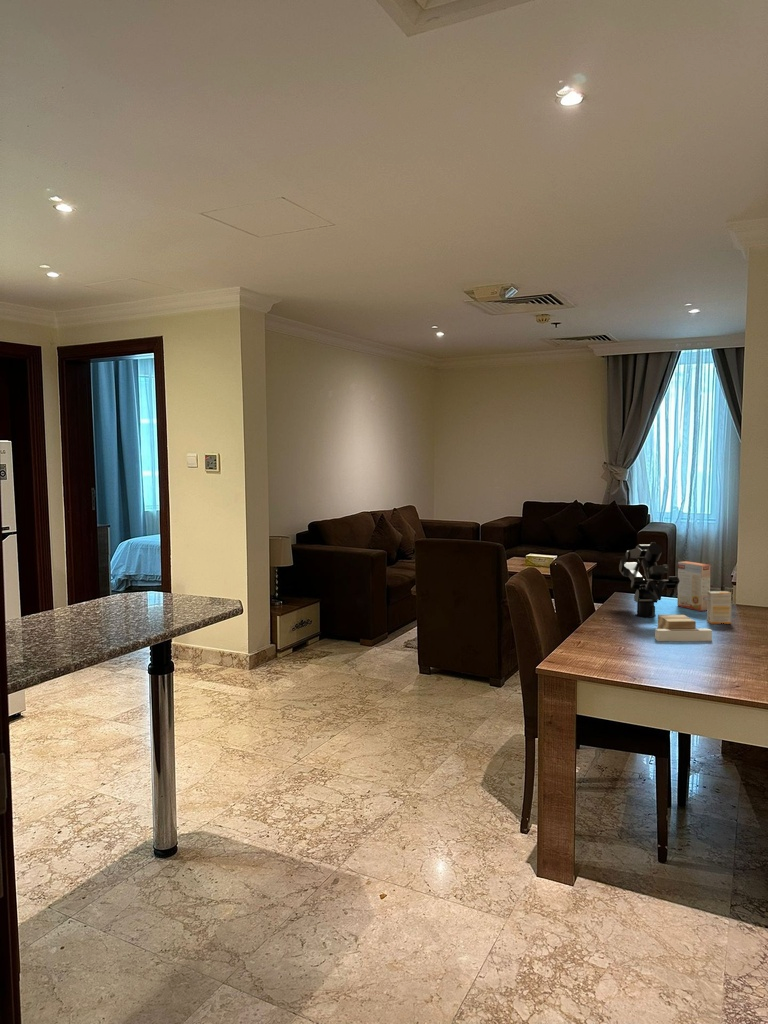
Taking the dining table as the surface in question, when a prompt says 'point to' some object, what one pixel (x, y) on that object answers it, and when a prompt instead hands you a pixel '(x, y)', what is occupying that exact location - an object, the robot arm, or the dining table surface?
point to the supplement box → (719, 607)
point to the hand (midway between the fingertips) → (659, 599)
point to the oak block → (675, 622)
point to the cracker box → (693, 585)
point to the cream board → (683, 634)
